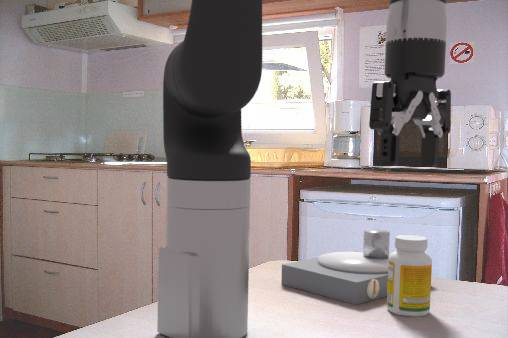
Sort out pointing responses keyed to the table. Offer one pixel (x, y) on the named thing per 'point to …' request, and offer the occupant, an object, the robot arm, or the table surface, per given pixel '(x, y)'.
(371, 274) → the scale
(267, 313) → the table surface
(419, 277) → the supplement bottle
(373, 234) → the cylinder
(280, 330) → the table surface
